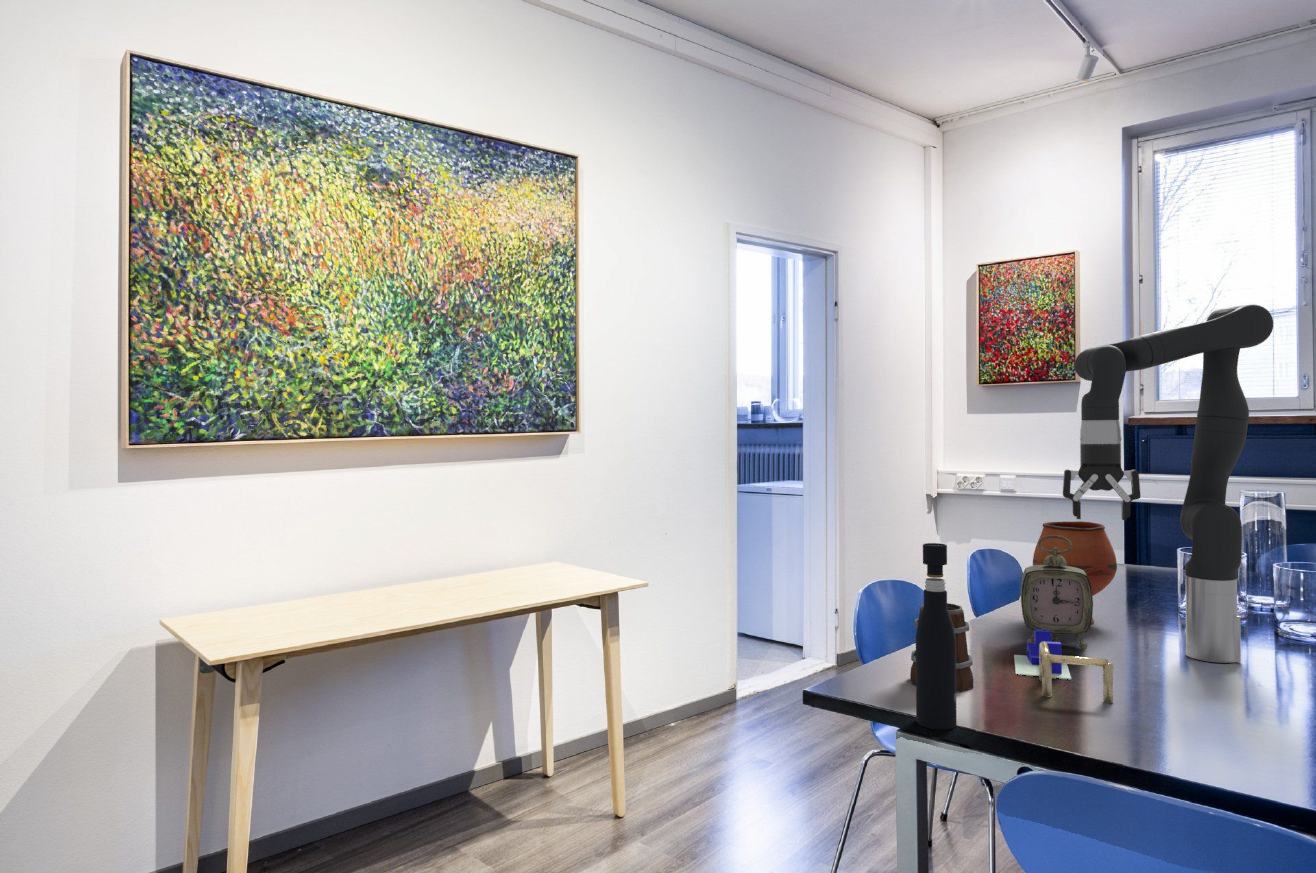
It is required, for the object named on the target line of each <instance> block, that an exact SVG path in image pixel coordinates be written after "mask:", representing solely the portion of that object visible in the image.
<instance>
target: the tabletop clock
mask: <svg viewBox="0 0 1316 873" xmlns="http://www.w3.org/2000/svg"><path fill="white" fill-rule="evenodd" d="M1048 538H1059V539H1063V540H1066V541H1067V542H1068V543H1069V544H1070V547H1069V549H1067V550H1063V551H1058V549H1057V548H1056V547H1054V548H1053V551H1049V550H1046V549H1043V548H1042V547H1041V546H1040V544H1041V542H1042V541H1043V540H1045V539H1048ZM1037 543H1038V546H1039V548H1040V549H1041V550H1042V551H1044V552H1046V553H1050V554H1053V555H1049V556H1047V557H1046V558H1045V559H1044V562H1043V565H1034V566H1033V565H1029V566H1027V567H1025V569H1024V570H1023V573H1022V576H1021V582H1020V603H1021V613H1022V619H1023V622H1024V624H1025V626H1026V628H1027V629H1029V630H1032V634H1031V637H1028V638H1027V639H1026V644H1027V643H1034V629H1035V630H1050V631H1051V642H1060V641H1059V640H1060V639H1059V636H1057V635H1074V636H1075V637H1076V638H1077V640H1078V641H1079V643H1078V647H1079V649H1081V650H1086V649H1087V647H1088V644H1087V643H1086V642H1085V641H1083V640H1082V637H1081V635H1082V634H1085V633H1087V632H1089V630H1090V627H1091V626H1092V624H1091V621H1092V618H1093V611H1094V608H1093V607H1094V598H1093V597H1094V596H1092V588H1091V584H1090V581H1089V579H1088V577H1087V575H1086V573H1085V572H1084V570H1081V569H1079V568H1076V567H1070V566H1068V565H1067V562H1066V560H1065V559H1064V558H1063V557H1062V556H1059V555H1058V554H1063V553H1067V552H1068V551H1070V550H1071V548H1072V543H1071V541H1070V540H1069V539H1067V538H1065V537H1063V536H1058V535H1049V536H1045V537H1043V538H1042V539H1040V541H1039V542H1038V541H1037ZM1052 634H1053V635H1052Z"/></svg>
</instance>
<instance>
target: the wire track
mask: <svg viewBox="0 0 1316 873" xmlns="http://www.w3.org/2000/svg"><path fill="white" fill-rule="evenodd" d="M1051 662H1053V663H1064V664H1067V665H1076V666H1077V665H1078V666H1080V665H1081V666H1091V667H1099V668H1100V667H1102V701H1104V702H1103V703H1105V702H1108V703H1107V704H1110V703H1111V704H1114V663H1113V662H1110V661H1109V659H1108V658H1098V657H1087V656H1086V657H1085V656H1074V655H1063V654H1062V655H1051V654H1050V653H1049V649H1048V645H1047V643H1046V642H1044V641H1042V642H1041V643H1040V644H1039V677H1038V678H1039V680H1040V681H1039V682H1041V681H1042V682H1041V696H1042V695H1043V696H1052V697H1053V694H1052V693H1053V692H1052V690H1053V688H1052V686H1053V685H1052V679H1053V678H1052V670H1051ZM1043 696H1042V697H1043Z"/></svg>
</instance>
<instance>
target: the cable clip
mask: <svg viewBox="0 0 1316 873" xmlns="http://www.w3.org/2000/svg"><path fill="white" fill-rule="evenodd" d="M1051 637H1052V634H1051V631H1050V630H1035V629H1034V643H1027V642H1026V656H1027V658H1028V659H1029V661H1030V662H1031V664H1032V665H1039V644H1040V643H1041V642H1042V641H1044V642H1046V643H1047V645H1048V649H1049V653H1050V654H1051V655H1063V654H1062V650H1063V649H1062V643H1061V642H1060V641H1058V642H1052V641H1051ZM1051 670H1052V674H1062V663H1053V662H1051Z"/></svg>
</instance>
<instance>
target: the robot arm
mask: <svg viewBox="0 0 1316 873" xmlns="http://www.w3.org/2000/svg"><path fill="white" fill-rule="evenodd" d="M1273 329H1274V318H1273V315H1272V314H1271V312H1270V311H1269V310H1268V309H1267V308H1265V307H1264V306H1262V305H1259V304H1255V303H1241V304H1237V305H1229V306H1223V307H1219V308H1217V309H1215V310H1213V311H1212V312H1211V313H1210V314H1209V316H1208V317H1207V318H1206V321H1204V322H1203V321H1202V322H1200V323H1195V324H1190V325H1185V326H1179V327H1172V328H1167V329H1162V330H1158V331H1155V332H1154V331H1153V332H1149V333H1145V334H1142V335H1137V336H1134V337H1131V338H1128V339H1126V340H1123V341H1118V342H1115V343H1114V342H1113V343H1110V344H1108V343H1107V344H1104V345H1099V346H1094V347H1090V348H1086V349H1085V350H1082V351H1081V352H1080V353H1079V354H1078V355H1077V356H1076V358H1075V359H1074V364H1073V368H1074V372H1075V373H1076V374H1077V376H1078V377H1080V378H1081V379H1083V380H1085V381H1090V382H1091V383H1090V389H1089V391H1088V392H1086V393H1085V394H1083V396H1082V397H1081V398H1082V399H1081V405H1080V406H1081V409H1080V410H1081V416H1080V417H1081V423H1080V430H1079V432H1080V433H1079V434H1080V436H1079V441H1080V442H1079V443H1080V446H1079V447H1080V449H1079V450H1080V454H1079V455H1080V458H1079V459H1080V464H1079V465H1080V466H1079V470H1073V469H1072V470H1070V469H1064V471H1063V483H1062V496H1063V498H1065V499H1067V500H1071V501H1072V516H1073V517H1075V518H1076V520H1081V514H1082V513H1081V511H1082V510H1081V507H1082V506H1081V504H1082V503H1081V502H1082V501H1081V500H1080V499H1081V498H1082V497H1083V495H1084V494H1086V493H1087V492H1088V490H1091V491H1106V492H1107V491H1108V492H1109V491H1111V490H1114V492H1115V493H1116V494H1117V495H1118V496H1119V497H1120V498H1121V500H1122V501H1120V502H1121V503H1120V504H1121V520H1122V521H1127V519H1128V518H1130V517H1131V503H1132V501H1135V500H1139V499H1141V496H1142V495H1141V486H1140V485H1141V484H1140V483H1141V482H1140V473H1139V471H1138V470H1136V469H1131V470H1123V468H1122V444H1121V443H1122V435H1121V434H1122V430H1121V426H1120V425H1121V424H1120V398H1121V395H1122V394H1121V393H1122V391H1123V387H1124V383H1125V379H1126V374H1127V372H1135V371H1141V370H1146V369H1150V368H1154V367H1157V366H1161V365H1165V364H1169V363H1171V362H1172V363H1173V362H1175V361H1179V360H1181V359H1185V358H1188V357H1193V356H1195V355H1199V354H1200V355H1201V354H1203V357H1202V376H1201V384H1200V385H1201V386H1200V391H1199V392H1200V394H1199V403H1198V409H1197V413H1196V418H1195V419H1196V420H1195V426H1194V427H1195V428H1194V438H1193V448H1192V454H1191V462H1190V463H1191V466H1190V472H1189V473H1190V475H1189V479H1188V480H1189V481H1188V485H1187V489H1186V492H1185V497H1184V500H1183V503H1182V507H1181V511H1180V517H1179V523H1180V528H1181V530H1182V532H1183V534H1184V535H1185V536H1186V537H1187V538H1188V539H1190V540H1191V541H1192V543H1191V544H1192V545H1191V546H1192V547H1191V556H1190V558H1189V560H1188V561H1187V562H1186V563H1185V567H1184V569H1185V579H1184V580H1185V654H1186V656H1187V657H1189V658H1191V659H1194V660H1199V661H1203V662H1208V663H1209V662H1210V663H1218V664H1219V663H1220V664H1230V663H1231V664H1232V663H1241V662H1242V658H1241V656H1242V654H1241V652H1242V650H1241V647H1242V646H1241V638H1242V637H1241V636H1242V634H1241V633H1242V632H1241V627H1242V626H1241V617H1240V615H1238V571H1239V568H1240V566H1241V563H1242V550H1243V548H1242V547H1243V524H1242V521H1241V517H1240V516H1239V513H1238V512H1237V511H1236V510H1235V509H1234V508H1233V507H1232V506H1229V505H1227V504H1226V498H1227V488H1228V483H1229V479H1230V476H1231V474H1232V473H1233V472H1232V471H1233V469H1234V467H1235V466H1236V464H1237V462H1238V460H1239V458H1240V456H1241V454H1242V451H1243V449H1244V447H1245V444H1246V440H1247V435H1248V434H1247V433H1248V426H1249V420H1250V409H1249V405H1248V401H1247V398H1246V397H1245V394H1244V390H1243V388H1242V387H1241V383H1240V381H1239V377H1238V363H1239V356H1240V350H1241V349H1247V348H1253V347H1256V346H1258V345H1261V344H1262V343H1264V342H1265V341H1267V339H1269V338H1270V336H1271V335H1272V332H1273ZM1076 476H1078V477H1079V478H1080V480H1081V481H1082V482H1083V483H1082V484H1081V485H1080V486H1079V487H1078V488H1077V490H1076V491H1075V492H1074V493H1072V492H1071V485H1072V484H1071V481H1074V480H1075V479H1076ZM1124 477H1126V479H1127V481H1129V482H1130V484H1131V493H1130V494H1128V493H1127V492H1126V491H1125V490H1124V489H1123V488H1122V486H1121V485H1120V484H1119V482H1120V481H1121V480H1122V479H1123V478H1124Z"/></svg>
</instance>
